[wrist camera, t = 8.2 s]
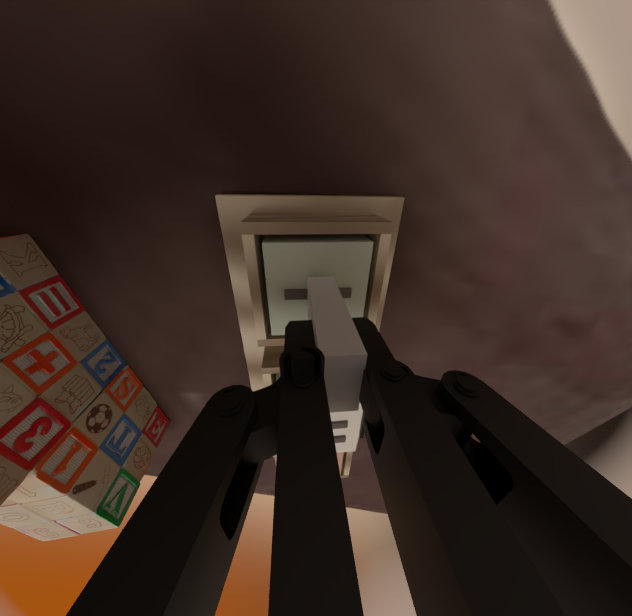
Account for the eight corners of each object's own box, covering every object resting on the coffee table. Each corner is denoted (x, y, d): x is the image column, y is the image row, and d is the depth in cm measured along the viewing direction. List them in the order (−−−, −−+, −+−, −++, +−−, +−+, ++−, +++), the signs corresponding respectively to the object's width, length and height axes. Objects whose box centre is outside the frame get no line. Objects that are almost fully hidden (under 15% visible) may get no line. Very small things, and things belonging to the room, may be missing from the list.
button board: (221, 193, 15) (192, 199, 10) (395, 196, 16) (434, 201, 12) (265, 445, 30) (261, 490, 25) (353, 437, 31) (363, 479, 26)
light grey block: (268, 230, 15) (261, 244, 11) (357, 229, 15) (374, 242, 12) (275, 308, 18) (271, 337, 14) (349, 306, 18) (361, 333, 15)
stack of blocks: (173, 420, 26) (90, 589, 15) (119, 429, 26) (-4, 606, 15) (28, 230, 15) (-633, 356, 4) (-67, 244, 15) (-991, 410, 4)
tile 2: (276, 369, 17) (273, 411, 14) (352, 364, 18) (365, 405, 15) (281, 417, 20) (279, 461, 17) (346, 412, 21) (355, 453, 18)
